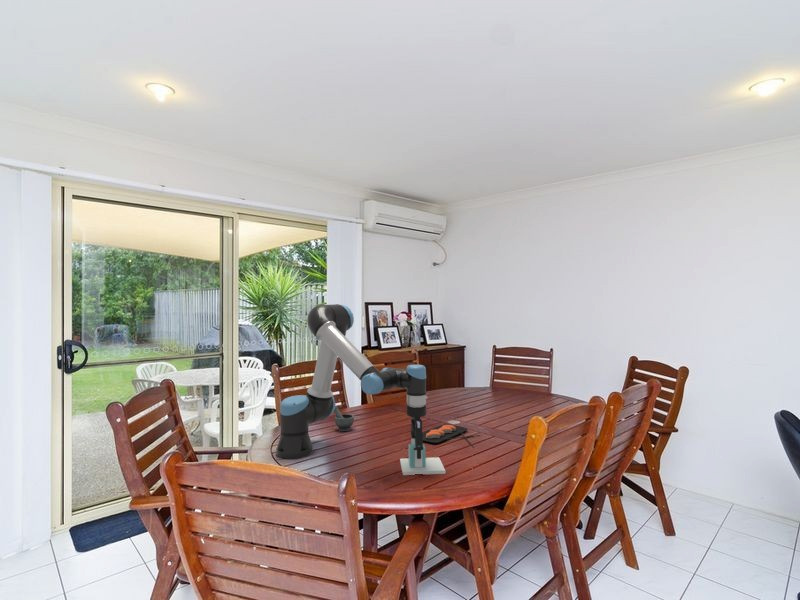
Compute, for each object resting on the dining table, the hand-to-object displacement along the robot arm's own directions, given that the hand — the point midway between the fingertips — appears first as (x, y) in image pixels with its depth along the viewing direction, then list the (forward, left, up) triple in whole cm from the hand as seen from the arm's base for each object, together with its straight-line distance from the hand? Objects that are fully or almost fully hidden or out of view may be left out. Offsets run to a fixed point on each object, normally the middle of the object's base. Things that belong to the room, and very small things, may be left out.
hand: (416, 460), depth 173 cm
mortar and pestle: (-31, +53, -3) cm, 61 cm away
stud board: (+2, 0, -3) cm, 3 cm away
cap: (0, 0, -2) cm, 2 cm away
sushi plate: (+22, +35, -4) cm, 42 cm away
